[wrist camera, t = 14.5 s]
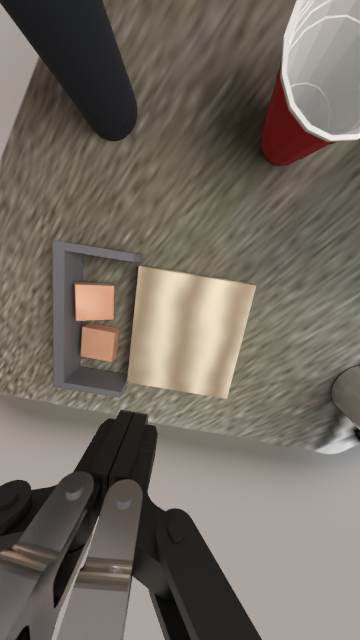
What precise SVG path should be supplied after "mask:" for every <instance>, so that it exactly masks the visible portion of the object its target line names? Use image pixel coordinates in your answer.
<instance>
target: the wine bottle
mask: <svg viewBox="0 0 360 640" xmlns="http://www.w3.org/2000/svg"><path fill="white" fill-rule="evenodd" d="M0 3H1V5H2V6H3V7H4V8H5V10H6V11H7V13H8V14H9V15H10V17H11V18H12V19H13V21H14V22H15V23H16V25H17V26H18V27H19V29H20V30H21V31H22V33H23V34H24V36H25V37H26V38H27V40H28V41H29V43H30V44H31V45H32V46H33V48H34V49H35V51H36V52H37V53H38V55H39V56H40V57H41V59H42V60H43V62H44V63H45V64H46V66H47V67H48V68H49V70H50V71H51V72H52V74H53V75H54V76H55V78H56V79H57V81H58V82H59V83H60V85H61V86H62V87H63V89H64V90H65V91H66V93H67V94H68V95H69V97H70V98H71V99H72V101H73V102H74V104H75V105H76V106H77V108H78V109H79V110H80V112H81V113H82V114H83V116H84V117H85V118H86V120H87V121H88V123H89V124H90V125H91V127H92V128H93V129H94V131H95V132H96V133H97V134H98V135H100V136H101V137H102V138H104V139H107V140H109V141H118V140H120V139H123V138H125V137H126V136H127V135H128V134H129V133H131V131H132V129H133V127H134V126H135V123H136V119H137V103H136V99H135V96H134V93H133V90H132V87H131V84H130V81H129V78H128V75H127V72H126V69H125V66H124V63H123V60H122V57H121V54H120V51H119V48H118V45H117V43H116V40H115V37H114V34H113V31H112V28H111V25H110V22H109V19H108V16H107V13H106V10H105V7H104V4H103V1H102V0H0Z"/></svg>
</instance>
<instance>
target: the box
mask: <svg viewBox="0 0 360 640" xmlns="http://www.w3.org/2000/svg"><path fill="white" fill-rule="evenodd" d="M84 254H88V255H94V256H100V257H106V258H112V259H118V260H124V261H130V262H142V257H143V255H141V254H135V253H129V252H123V251H117V250H111V249H105V248H99V247H93V246H87V245H81V244H75V243H68V242H62V241H55V240H53V371H54V387H59V388H65V389H71V390H77V391H83V392H89V393H94V394H100V395H106V396H112V397H118V398H120V397H121V395H122V393H123V391H124V390H125V388H126V386H127V384H128V382H127V377H128V374H122V373H116V372H110V371H105V370H99V369H93V368H87V367H81V366H80V357H81V326H82V321H76V319H75V305H74V282H83V265H84Z"/></svg>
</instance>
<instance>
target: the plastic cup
mask: <svg viewBox="0 0 360 640" xmlns="http://www.w3.org/2000/svg"><path fill="white" fill-rule="evenodd" d="M359 138H360V0H297V1H296V4H295V7H294V10H293V13H292V15H291V18H290V21H289V24H288V26H287V29H286V32H285V35H284V38H283V44H282V59H281V62H280V68H279V71H278V74H277V81H276V84H275V87H274V91H273V94H272V98H271V101H270V104H269V108H268V111H267V114H266V118H265V124H264V128H263V131H262V150H263V153H264V156H265V157H266V158H267V159H268V160H269V161H270V162H271V163H273V164H276V165H288V164H291V163H293V162H295V161H297V160H299V159H302V158H304V157H306V156H308V155H309V154H311V153H313V152H315V151H317V150H319V149H321V148H323V147H325V146H327V145H329V144H333V143H335V142H337V141H352V140H357V139H359Z"/></svg>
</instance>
